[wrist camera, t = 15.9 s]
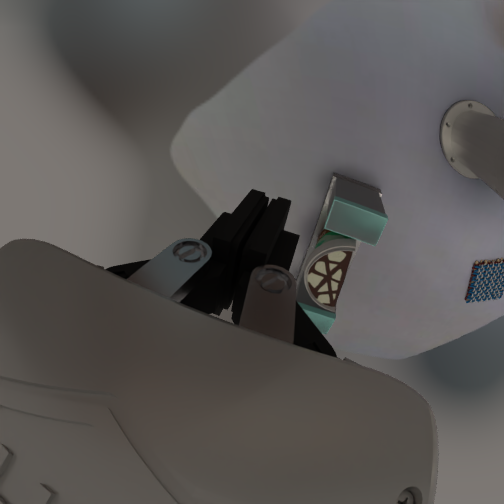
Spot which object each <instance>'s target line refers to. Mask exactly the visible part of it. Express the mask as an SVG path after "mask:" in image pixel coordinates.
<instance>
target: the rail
mask: <svg viewBox="0 0 504 504" xmlns="http://www.w3.org/2000/svg"><path fill="white" fill-rule="evenodd" d="M336 178H339V179H342V180H345V181H348V182H351V183H354V184H356V185H359V186H362V187H365V188H367V189H370V190H373V191H375V192H378V193H379V194H380V197H381V195H382V193H381V190H380V189H378V188H375V187H373V186H370V185H367V184H365V183H362V182H359V181H356V180H354V179H351V178H348V177H345V176H342V175H339V174H336V173H333V176H332V179H331V182H330V185H329V189H328V192H327V195H326V198H325V201H324V204H323V207H322V210H321V213H320V216H319V219H318V222H317V224H316V227H315V230H314V233H313V236H312V239H311V242H310V244H309V247H308V250H307V253H306V255H305V258H304V261H303V264H302V266H301V269H300V272H299V274H298V277H297V280H296V285H297V286H298V284H299V281H300V278H301V276H302V273H304V265H305V262H306V260H307V258H308V256H309V255H310V254H311V252H312V251H313V250H314V249H315V246H316V243H317V240H318V237H319V235H320V233H321V232H322V231H323V230H324V226H325V222H326V218H327V211H328V203H329V198H330V195H331V192H332V189H333V186H334V183H335V180H336ZM355 240H356V239H355ZM361 242H362V241H359V240H356V248H355V252H353V253H352V257H351V260H350V263H349V266H348V269H349V267H350V265H351V263H352V261H353V259H354V257H355V255H356V252H357V250H358V248H359V246H360V244H361ZM347 271H348V270H347Z"/></svg>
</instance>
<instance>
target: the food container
mask: <svg viewBox="0 0 504 504" xmlns="http://www.w3.org/2000/svg"><path fill="white" fill-rule="evenodd" d="M355 248H356V240H355V239H354V238H351V237H348V236H345V235H342V234H339V233H336V232H333V231H330V230H327V229H324V230H323V231H322V232H321V233H320V235H319V237H318V240H317V243H316V246H315V249H314V250H313V251H312V252H311V254H310V255H309V256H308V258H307V260H306V262H305V265H304V282H305V286H306V289H307V291H308V293H309V295H310V296H311V298H312V299H313V300H314V301H315V302H316V303H317V304H318V305H320V306H321V307H323V308H325V309H327V310H330V311H333V312H335V307H336V302H337V299H338V296H339V293H340V290H341V288H342V285H343V282H344V279H345V276H346V273H347V270H348V266H349V263H350V260H351V257H352V253H353V252H355Z"/></svg>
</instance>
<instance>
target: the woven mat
mask: <svg viewBox="0 0 504 504" xmlns="http://www.w3.org/2000/svg"><path fill="white" fill-rule="evenodd" d="M502 259H503V258H501V259H500V260H499V259H497V260H496V262H495V260H492V262H490V260H488V262H487V260H484V262H483V263H482V260H481V261H480V264H478V261H476V262H475V264H474V267H472V269H473V271H472V275H471V276H472V277H471V280H470V281H469V282H470V284H469V287H468V289H469V290H468V293H467V296H466V298H465V300H466V303H471V302H472V303H473V302H476V301H478V303H479V301H482V300H483V301H487V300H488V301H489V300H491V299H493V300H495V299H498V298H499V299H500V298H501V297H502V295H503V291H504V260H503V261H502ZM477 296H478V297H477ZM499 296H500V297H499ZM483 301H482V302H483Z"/></svg>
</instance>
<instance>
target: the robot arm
mask: <svg viewBox="0 0 504 504" xmlns="http://www.w3.org/2000/svg"><path fill="white" fill-rule="evenodd" d="M468 104H469V107H468ZM446 122H447V125H446ZM440 141H441V147H442V150H443V153H444V155H445V157H446V160H447V161H448V162H449V164H450V165H451V166H452V167H453V168H454V169H455V170H456V171H457V172H458V173H459V174H461V175H463V176H465V177H468V178H472V179H479V178H480V179H481V180H482V181H484V182H485V183H486V184H487V185H488V186H489V187H490V188H492V189H493V190H494V191H495V192H496V193H497V194H498V195H499V196H500V197H501V198H502V199H504V119H501V118H498V117H496V116H495V115H494V114H493V112H492V111H491V110H490V109H489V108H487V107H486V106H485V105H483V104H481V103H479V102H476V101H471V100H464V101H460V102H457V103H455V104H454V105H452V106H451V107H450V108H449V109H448V110H447V112H446V114H445V115H444V117H443V120H442V123H441V128H440ZM451 157H452V159H451ZM450 159H451V160H450ZM268 201H269V197H266V196H265V193H264V192H261V191H257V190H254V189H252V190H251V191H250V192H249V193H248V195H247V196H246V197H245V198H244V199H243V201H242V202H241V203H240V204H239V205H238V207H237V208H236V209H235V210H234V212H233V213H232V214H230V213H227V212H224V213H222V214H221V216H220V217H219V218H218V219H217V220H216V221H215V223H214V224H213V225H212V226H211V227H210V228H209V229H208V231H207V232H206V233H205V234H204V235H203V236H202V238H201V239H200V240H198V239H193V238H185V239H180V240H177V241H175V242H174V243H172V244H171V245H169V246H168V247H167V248H166V249H164V250H163V251H162V252H161V253H159V254H158V255H157V256H155V257H154V258H153V259H151V260H145V261H139V262H134V263H128V264H123V265H118V266H113V267H110V268H107V269H104V267H102V266H98V265H95V264H93V263H90V262H88V261H86V260H84V259H82V258H80V257H78V256H76V255H74V254H72V253H70V252H68V251H66V250H63V249H61V248H59V247H57V246H55V245H52V244H50V243H47V242H43V241H39V240H35V239H18V240H13V241H11V242H9V243H7V244H5V245H4V246H3V247H1V248H0V504H434V498H435V492H436V485H437V474H438V455H439V454H438V434H437V426H436V420H435V416H434V414H433V411H432V408H431V406H430V405H429V403H428V402H427V401H426V399H424V397H423V396H422V395H421V394H419V393H418V392H417V391H416V390H414V389H413V388H411V387H410V386H408V385H407V384H405V383H403V382H402V381H399V380H398V379H396V378H393V377H391V376H389V375H387V374H384V373H382V372H380V371H377V370H374V369H372V368H368V367H365V366H362V365H359V364H357V363H356V362H354V361H352V360H350V359H348V358H346V357H345V358H344V359H343V360H342V359H340V358H338V357H337V356H336V353H335V351H334V349H333V348H332V346H331V345H330V344H329V342H328V341H327V340H326V339H325V337H324V336H323V335H322V333H321V332H320V331H319V329H318V328H317V327H316V326H315V324H314V323H313V322H312V320H311V319H310V318H309V317H308V315H307V314H306V313H305V311H304V310H303V309H302V308H301V306H300V305H299V304H298V302H297V301H296V288H297V285H296V280H295V278H294V276H293V275H292V274H291V273H290V272H289V269H290V266H291V262H292V259H293V256H294V253H295V249H296V246H297V243H298V240H299V236H300V235H297V234H294V233H291V232H288V231H284V226H285V223H286V219H287V216H288V212H289V208H290V205H291V200H287V199H284V198H281V197H278V199H277V200H276V199H272V200H271V202H270V204H269V205H268ZM267 206H268V207H267ZM232 300H233V304H232V310H231V311H232V312H233V314H232V320H233V322H234V324H233V323H230V322H227V321H225V320H222V319H219V318H217V317H214V316H212V315H209V314H211V313H213V314H216V315H218V316H219V315H220V313H221V312H222V310H223V308H224V309H228V308H229V307H230V305H231V303H232Z"/></svg>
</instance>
